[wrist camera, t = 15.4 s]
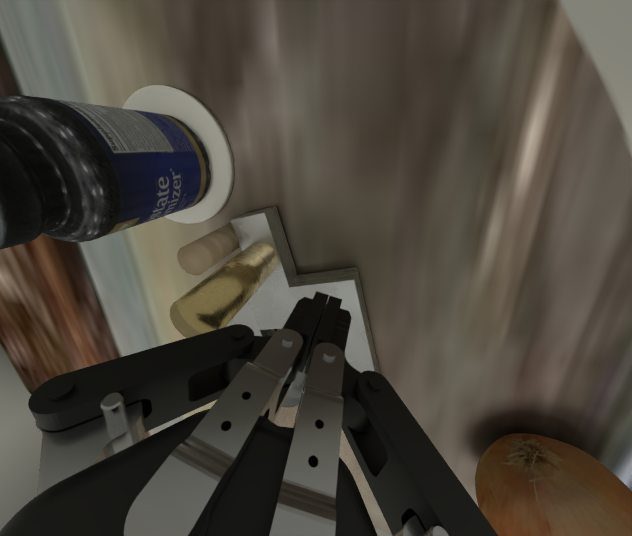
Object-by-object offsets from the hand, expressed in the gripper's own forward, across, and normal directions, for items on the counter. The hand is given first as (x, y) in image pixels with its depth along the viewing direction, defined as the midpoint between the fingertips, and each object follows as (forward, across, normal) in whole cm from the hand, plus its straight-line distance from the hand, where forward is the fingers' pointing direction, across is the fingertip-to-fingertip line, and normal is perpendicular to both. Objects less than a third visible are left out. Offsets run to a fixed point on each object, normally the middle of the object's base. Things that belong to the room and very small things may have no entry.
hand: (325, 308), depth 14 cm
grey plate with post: (+5, +3, +5) cm, 8 cm away
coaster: (+6, +14, -4) cm, 15 cm away
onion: (+6, -20, +12) cm, 24 cm away
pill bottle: (+5, +13, -4) cm, 15 cm away
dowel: (+6, +8, 0) cm, 10 cm away
